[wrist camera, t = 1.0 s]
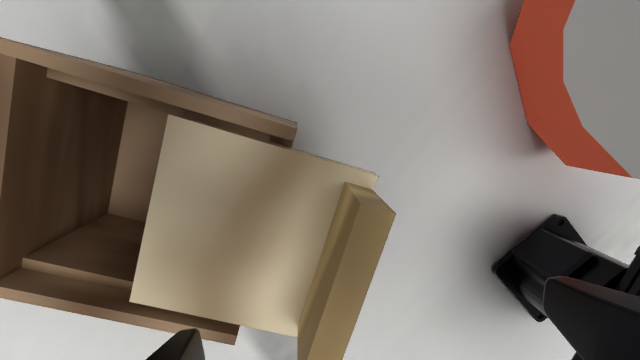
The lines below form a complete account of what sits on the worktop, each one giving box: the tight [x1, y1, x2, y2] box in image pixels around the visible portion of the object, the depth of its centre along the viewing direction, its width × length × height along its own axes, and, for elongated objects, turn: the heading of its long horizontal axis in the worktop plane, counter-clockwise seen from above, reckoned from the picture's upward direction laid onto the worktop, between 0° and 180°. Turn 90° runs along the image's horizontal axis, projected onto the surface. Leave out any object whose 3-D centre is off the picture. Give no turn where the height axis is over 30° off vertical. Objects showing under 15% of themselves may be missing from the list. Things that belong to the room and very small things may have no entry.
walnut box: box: [0, 37, 297, 345], centre depth 16 cm, size 11×10×8 cm
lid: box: [129, 114, 396, 360], centre depth 12 cm, size 9×8×4 cm
